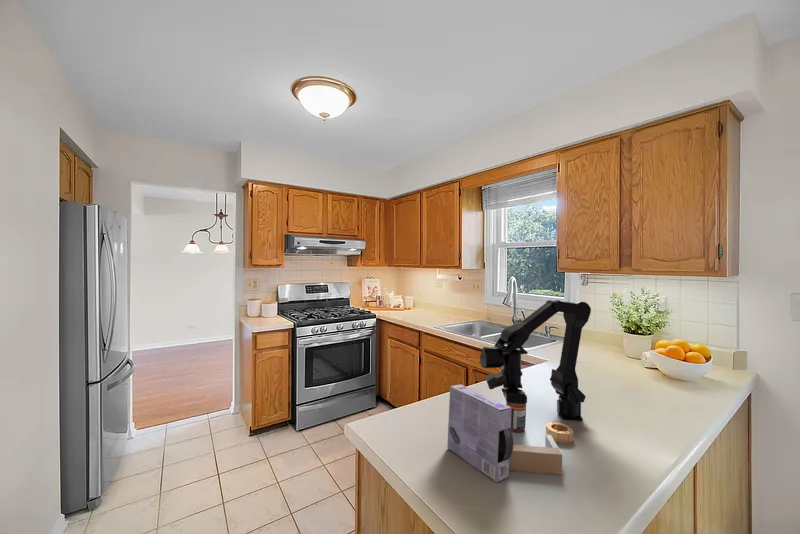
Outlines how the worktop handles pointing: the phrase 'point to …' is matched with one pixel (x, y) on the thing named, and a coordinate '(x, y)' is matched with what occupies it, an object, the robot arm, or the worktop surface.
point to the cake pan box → (480, 431)
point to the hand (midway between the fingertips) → (511, 413)
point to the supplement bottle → (517, 416)
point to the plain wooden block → (537, 458)
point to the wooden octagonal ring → (560, 432)
